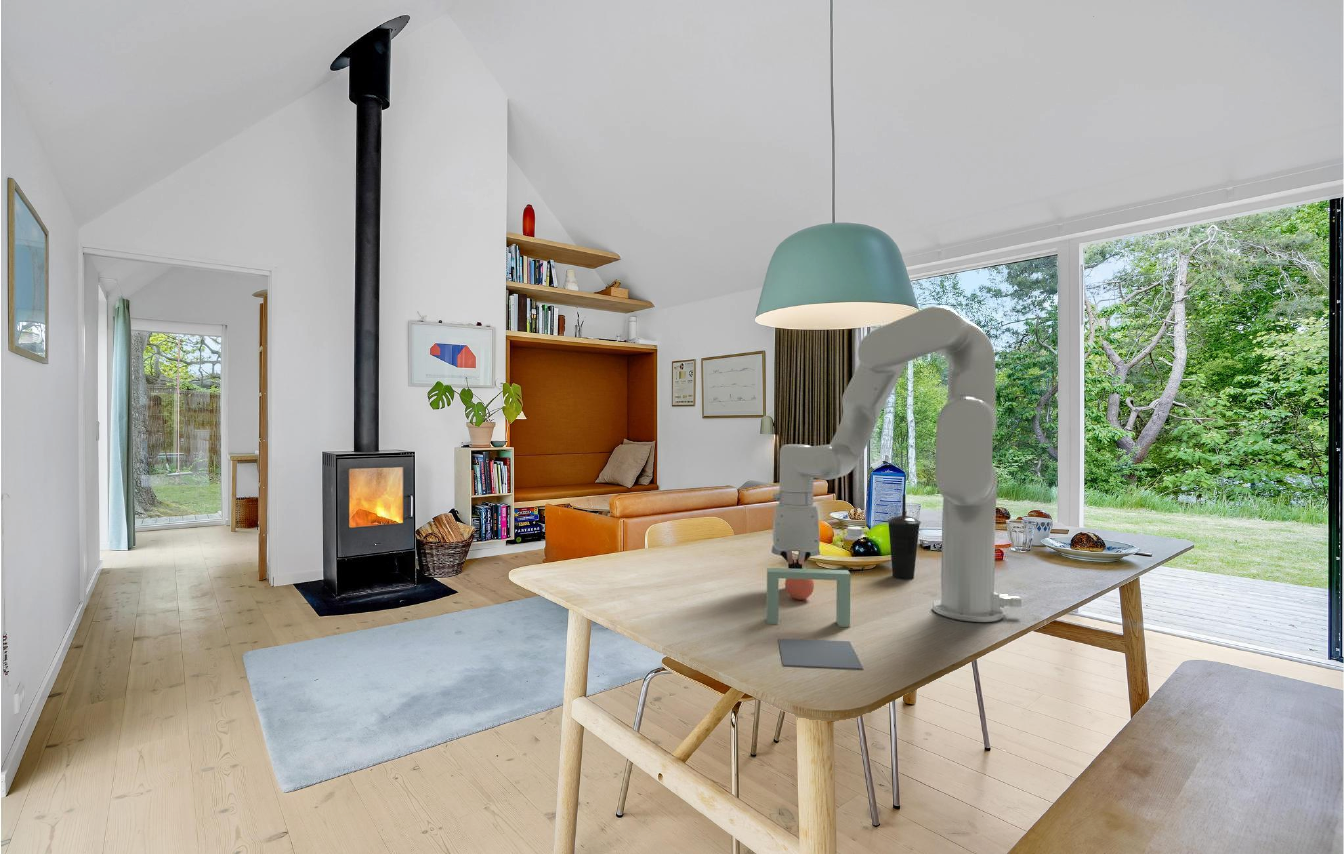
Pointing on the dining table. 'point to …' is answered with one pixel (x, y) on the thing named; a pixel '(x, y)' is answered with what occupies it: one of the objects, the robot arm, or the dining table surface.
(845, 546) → the supplement bottle
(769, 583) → the bridge
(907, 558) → the drinking cup
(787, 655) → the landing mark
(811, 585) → the ball
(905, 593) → the dining table surface
